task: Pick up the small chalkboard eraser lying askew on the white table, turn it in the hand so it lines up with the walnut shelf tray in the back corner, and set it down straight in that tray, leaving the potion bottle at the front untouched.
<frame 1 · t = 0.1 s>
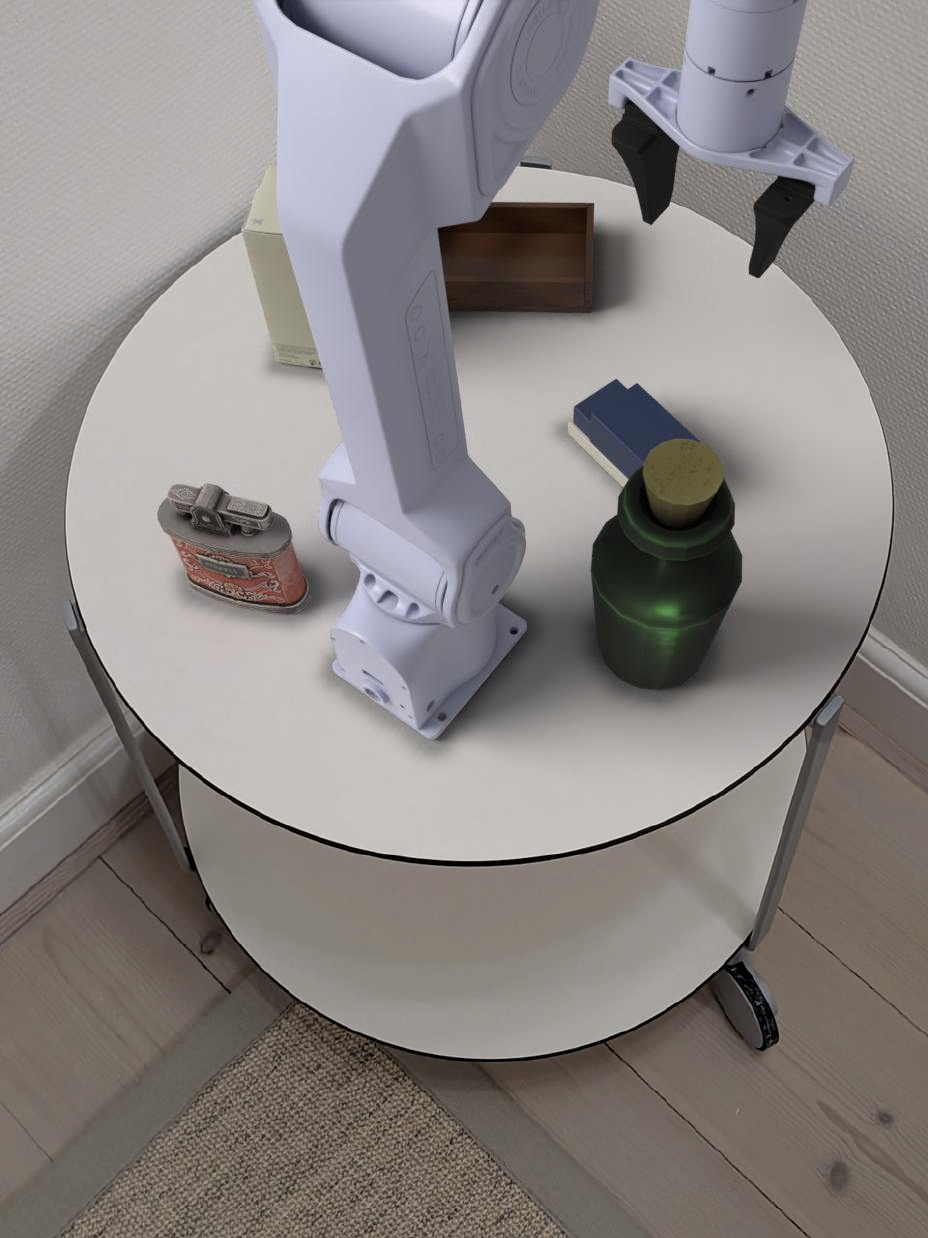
hand: (708, 239, 76), 10 cm above the table, tool pointing down, fingers open, 7 cm apart
potion bottle: (651, 644, 75), on the table
chalkboard eraser: (632, 458, 81), on the table
shelf tray: (504, 271, 89), on the table
lighter: (250, 587, 78), on the table
cosmetic box: (317, 334, 88), on the table
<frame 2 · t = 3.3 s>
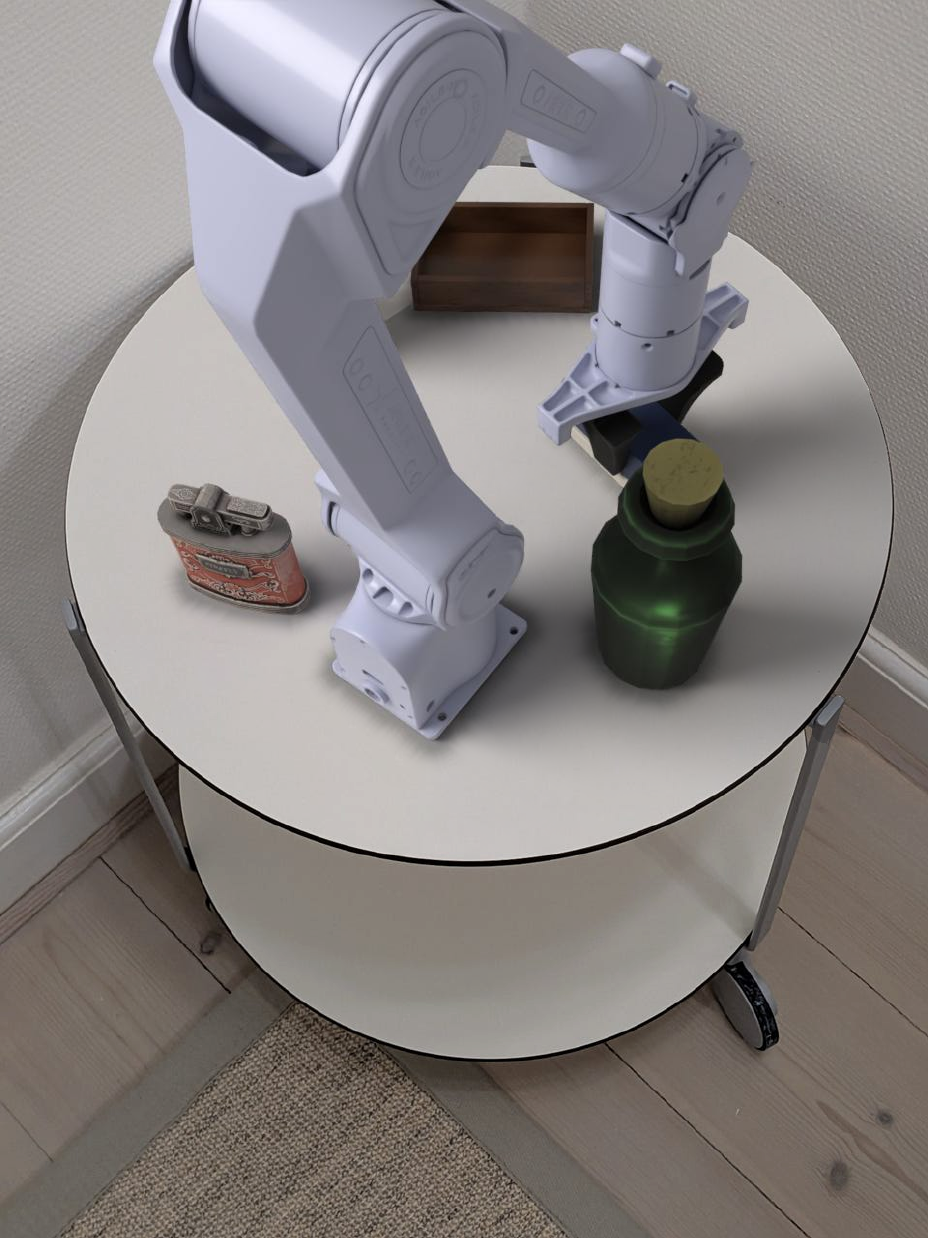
hand: (634, 445, 80), 1 cm above the table, tool pointing down, fingers closed on chalkboard eraser, 4 cm apart
chalkboard eraser: (632, 458, 81), on the table, touching gripper
everything else where it was.
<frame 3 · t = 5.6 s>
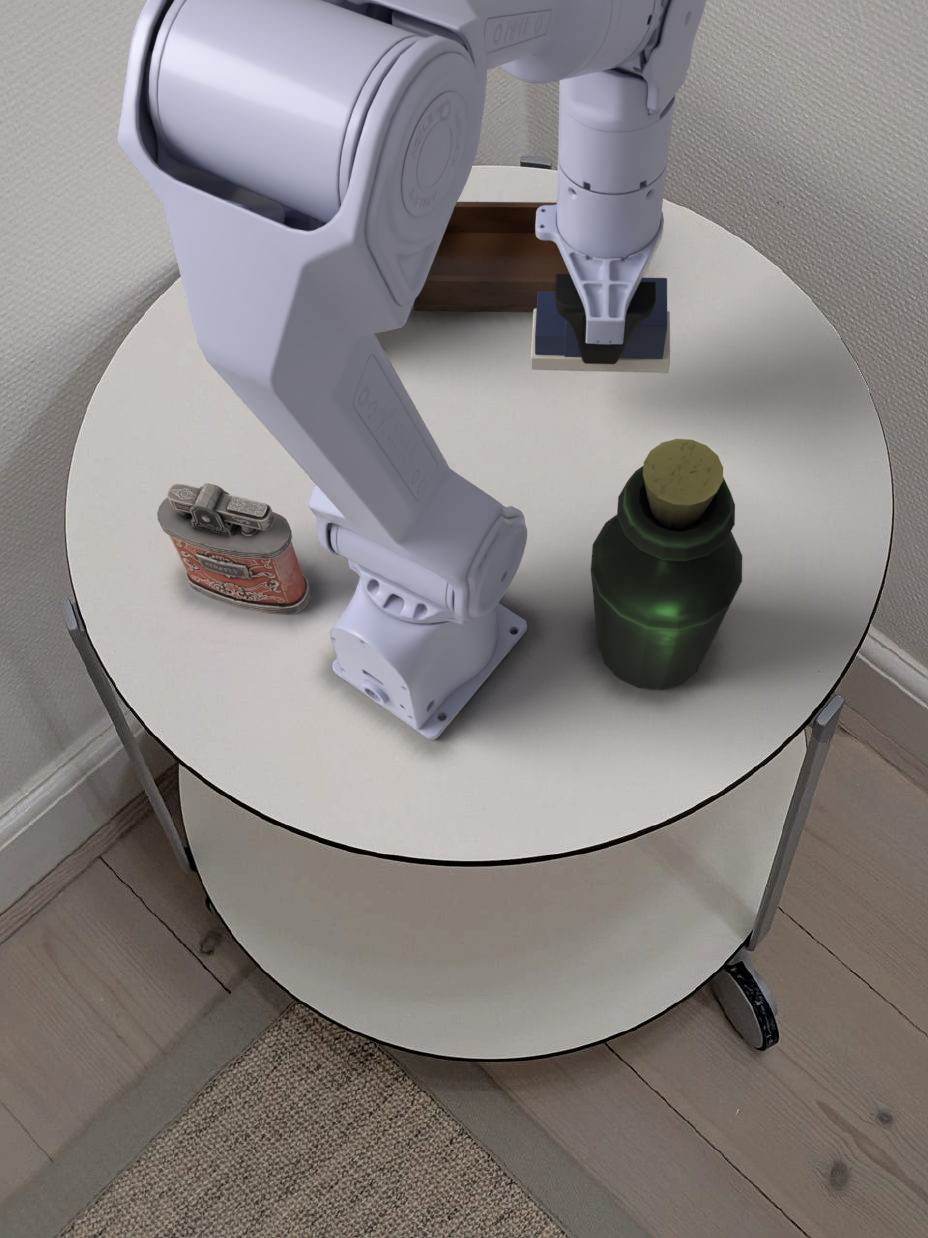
hand: (600, 330, 77), 7 cm above the table, tool pointing down, fingers closed on chalkboard eraser, 4 cm apart
chalkboard eraser: (599, 346, 78), point 6 cm above the table, touching gripper
everything else where it was.
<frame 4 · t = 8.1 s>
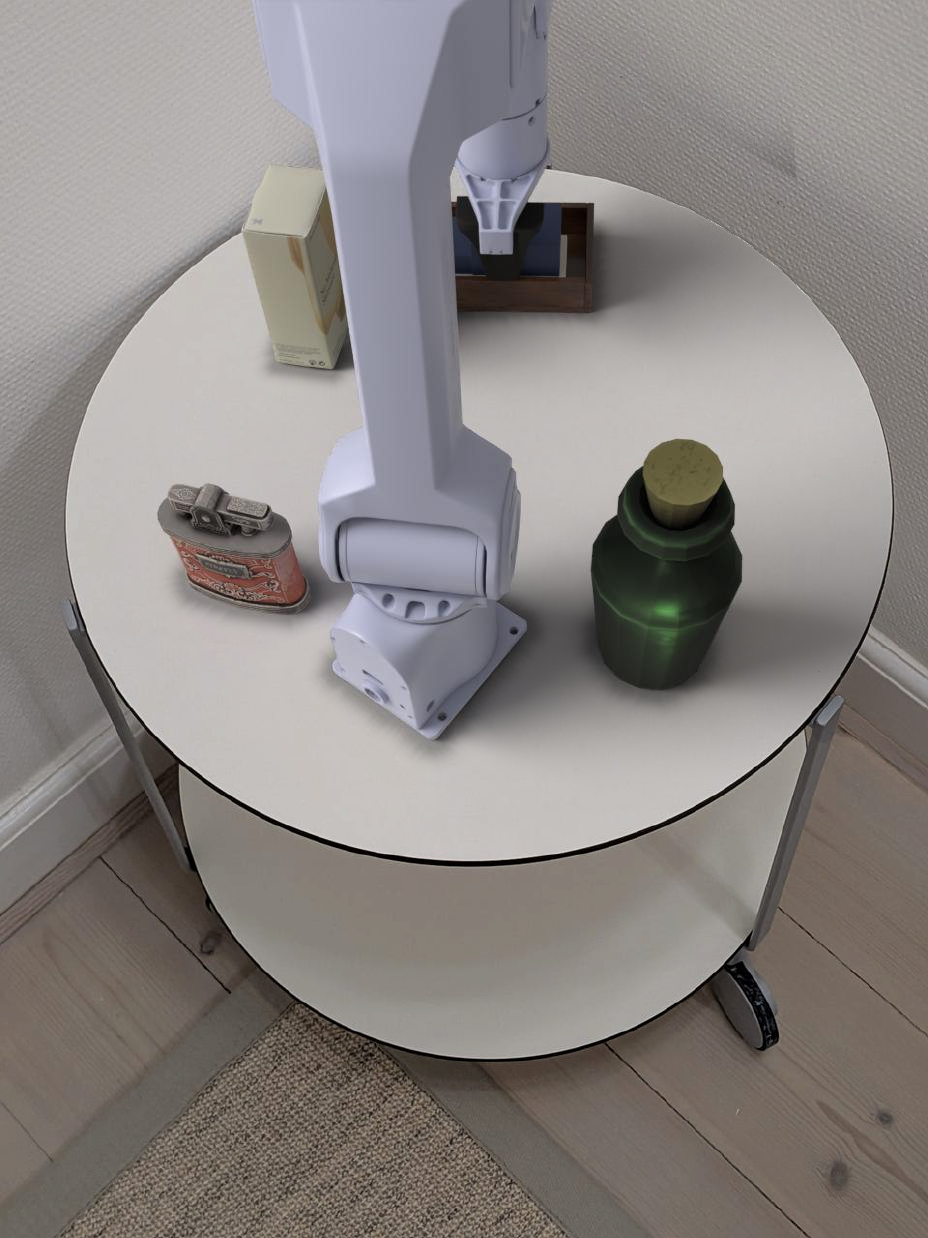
hand: (504, 252, 86), 3 cm above the table, tool pointing down, fingers closed on chalkboard eraser, 4 cm apart
chalkboard eraser: (505, 267, 87), point 2 cm above the table, touching gripper
everything else where it was.
when the fingers open (3 cm above the table, at t = 8.1 s): chalkboard eraser drops 1 cm, resting on shelf tray.
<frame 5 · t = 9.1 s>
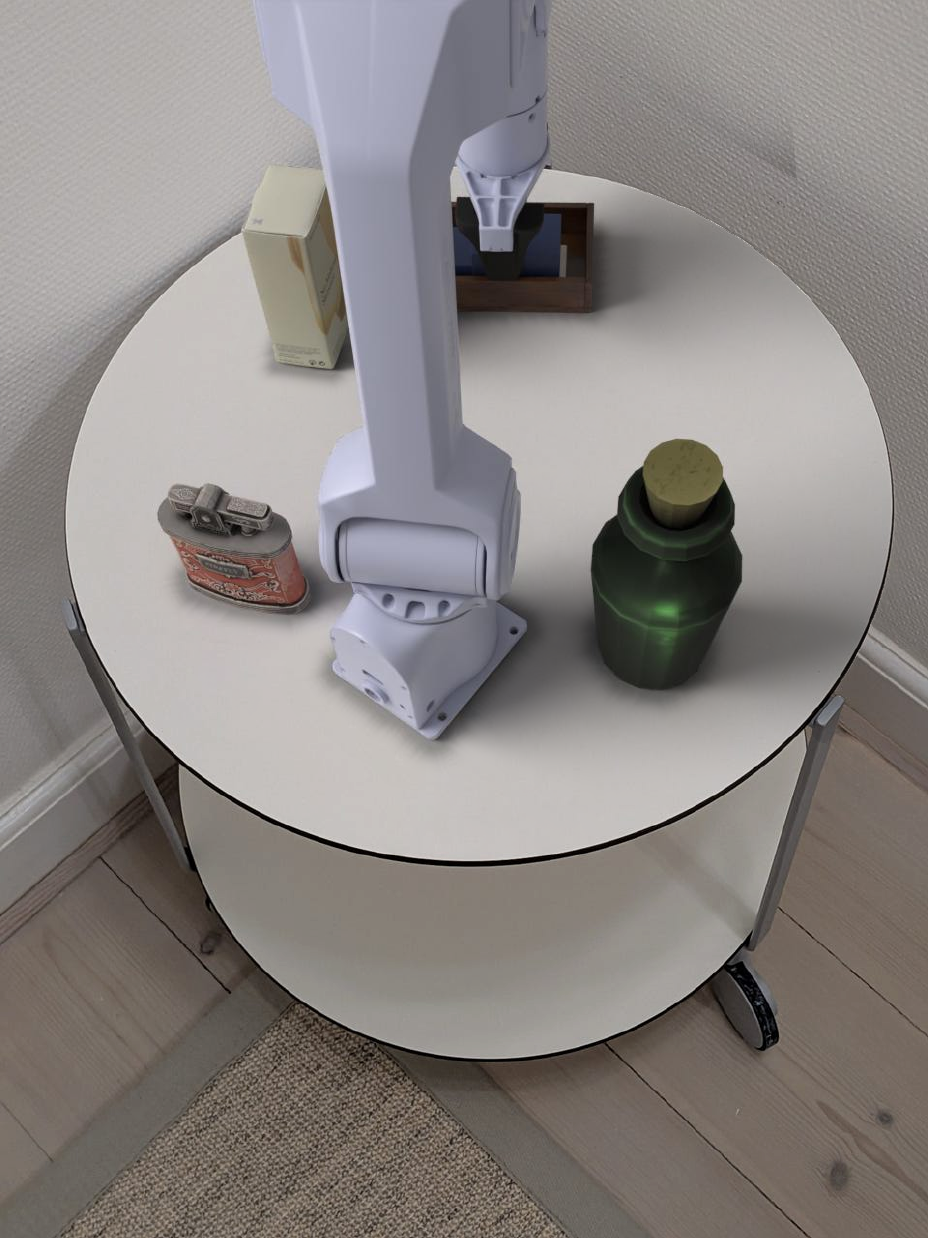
hand: (505, 248, 86), 3 cm above the table, tool pointing down, fingers open, 5 cm apart
chalkboard eraser: (506, 276, 88), resting on shelf tray
everything else where it was.
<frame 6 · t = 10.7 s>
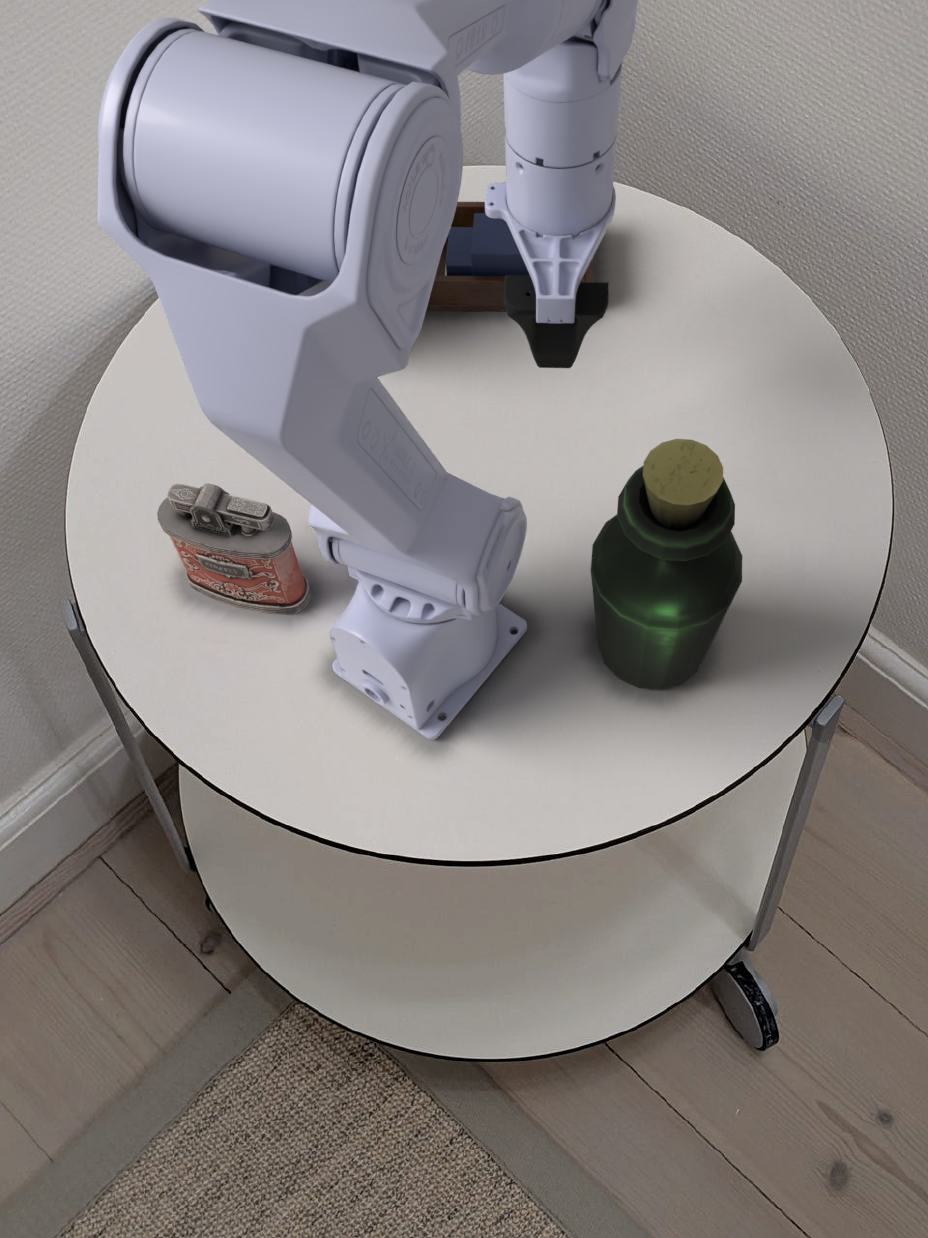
hand: (556, 313, 75), 9 cm above the table, tool pointing down, fingers open, 7 cm apart
nothing on the table moved.
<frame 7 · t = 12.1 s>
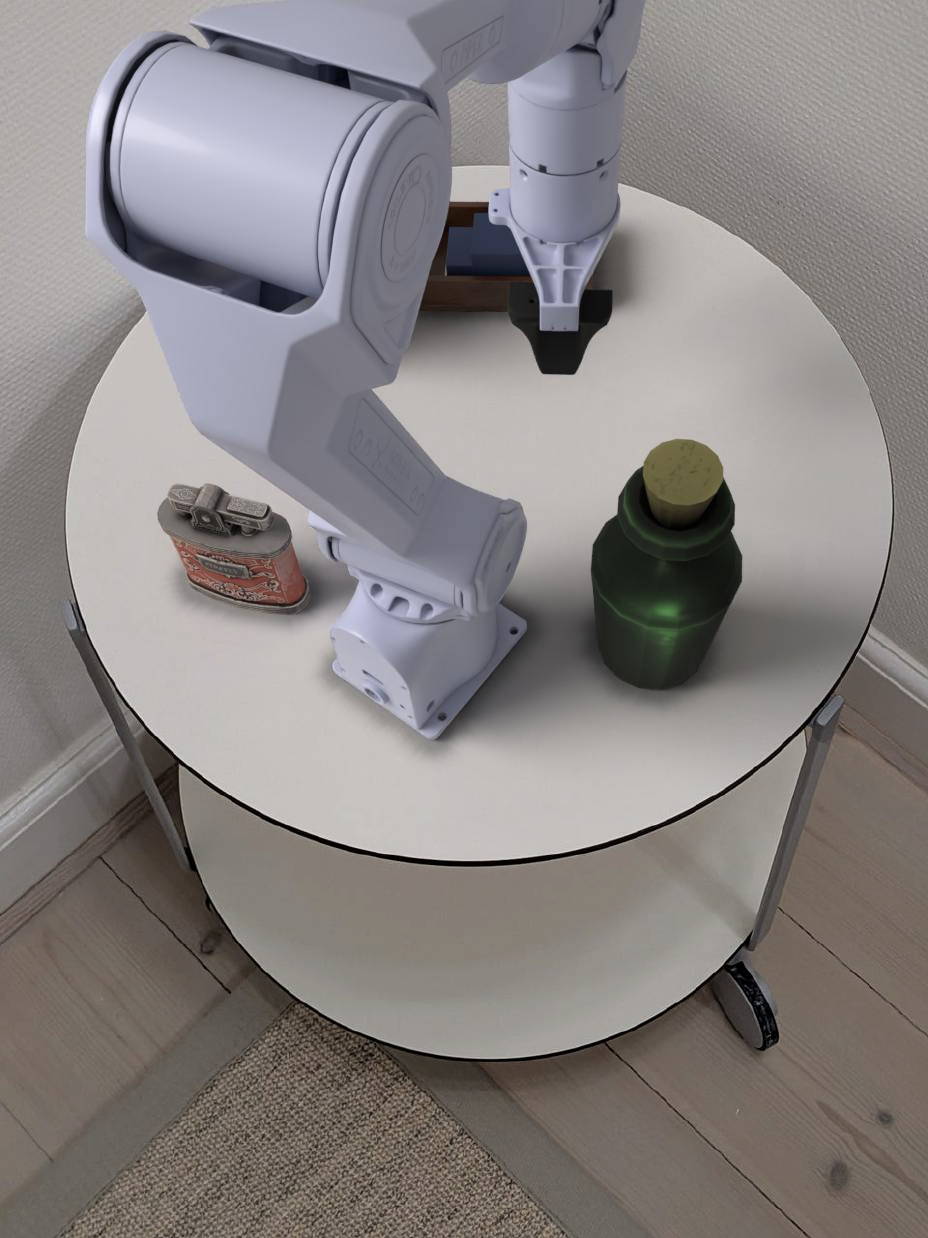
hand: (560, 319, 75), 9 cm above the table, tool pointing down, fingers open, 7 cm apart
nothing on the table moved.
at the end: chalkboard eraser 1.0 cm off-centre in the shelf tray, point 0.5 cm above the shelf tray's base; chalkboard eraser tilted 0°; potion bottle moved 0.2 cm from its start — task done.
